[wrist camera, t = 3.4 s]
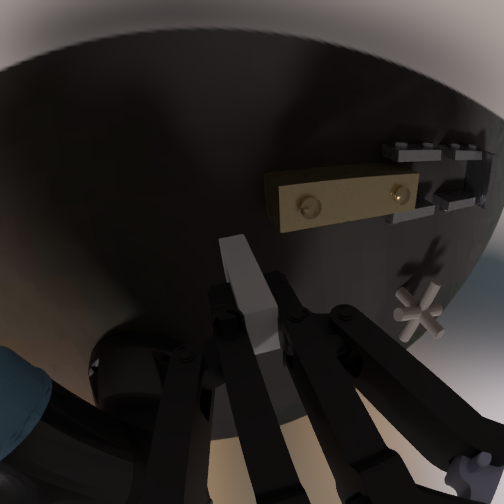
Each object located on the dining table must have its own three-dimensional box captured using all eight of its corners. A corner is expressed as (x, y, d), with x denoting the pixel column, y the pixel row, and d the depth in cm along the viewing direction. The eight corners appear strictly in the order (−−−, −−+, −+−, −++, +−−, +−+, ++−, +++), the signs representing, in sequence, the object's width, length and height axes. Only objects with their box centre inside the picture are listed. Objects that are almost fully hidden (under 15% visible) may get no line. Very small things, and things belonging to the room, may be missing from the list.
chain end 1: (431, 206, 32) (454, 220, 28) (438, 139, 27) (465, 148, 23) (466, 199, 33) (487, 211, 29) (474, 142, 28) (497, 151, 25)
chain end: (376, 217, 30) (391, 228, 28) (380, 138, 25) (399, 144, 23) (417, 209, 31) (432, 218, 29) (423, 139, 27) (441, 144, 24)
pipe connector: (392, 261, 34) (440, 306, 26) (432, 264, 38) (474, 301, 29) (363, 319, 39) (399, 367, 30) (405, 315, 42) (439, 354, 34)
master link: (265, 212, 27) (282, 236, 23) (262, 172, 25) (281, 188, 21) (389, 195, 30) (418, 212, 25) (392, 162, 27) (423, 175, 23)
